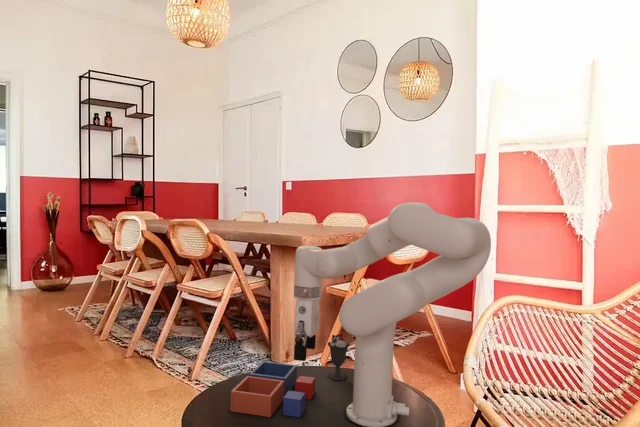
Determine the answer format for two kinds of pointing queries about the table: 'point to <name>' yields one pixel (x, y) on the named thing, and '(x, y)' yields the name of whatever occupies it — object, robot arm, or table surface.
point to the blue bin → (277, 373)
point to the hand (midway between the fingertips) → (304, 354)
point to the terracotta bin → (257, 396)
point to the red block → (305, 386)
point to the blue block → (294, 403)
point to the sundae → (338, 354)
